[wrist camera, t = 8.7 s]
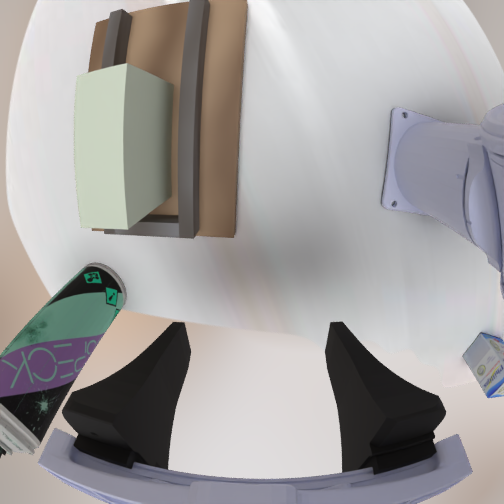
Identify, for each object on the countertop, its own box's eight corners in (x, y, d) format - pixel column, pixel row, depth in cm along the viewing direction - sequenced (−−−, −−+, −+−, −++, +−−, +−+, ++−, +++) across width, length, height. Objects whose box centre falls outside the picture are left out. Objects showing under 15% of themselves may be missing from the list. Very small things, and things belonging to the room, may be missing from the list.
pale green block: (173, 85, 15) (127, 63, 9) (171, 196, 18) (128, 229, 12) (134, 89, 15) (76, 76, 9) (134, 196, 19) (81, 227, 12)
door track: (247, 5, 13) (245, -13, 11) (235, 232, 21) (230, 247, 18) (103, 26, 14) (84, 16, 11) (99, 225, 21) (80, 238, 18)
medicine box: (501, 337, 26) (527, 373, 18) (484, 359, 27) (507, 397, 19) (480, 331, 25) (511, 374, 17) (461, 356, 27) (487, 400, 19)
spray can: (112, 319, 25) (21, 480, 7) (74, 284, 24) (-40, 427, 5) (136, 290, 23) (24, 484, 5) (93, 251, 22) (-54, 414, 4)
